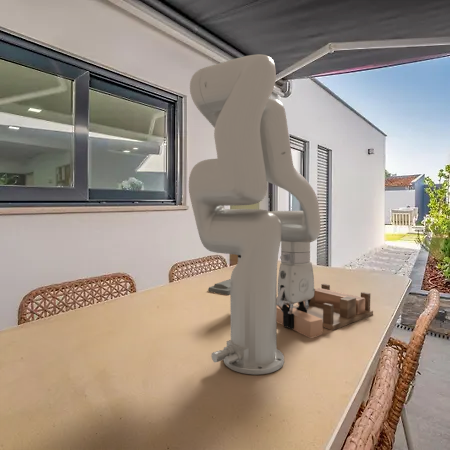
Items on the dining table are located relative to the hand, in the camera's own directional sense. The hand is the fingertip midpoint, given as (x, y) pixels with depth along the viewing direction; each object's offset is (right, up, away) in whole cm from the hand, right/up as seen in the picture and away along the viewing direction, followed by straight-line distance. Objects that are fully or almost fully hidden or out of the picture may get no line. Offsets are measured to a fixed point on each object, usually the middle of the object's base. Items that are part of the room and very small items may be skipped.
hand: (295, 324), depth 92 cm
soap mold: (-16, +1, +43) cm, 46 cm away
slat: (0, -1, 0) cm, 1 cm away
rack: (+11, 0, +10) cm, 15 cm away
